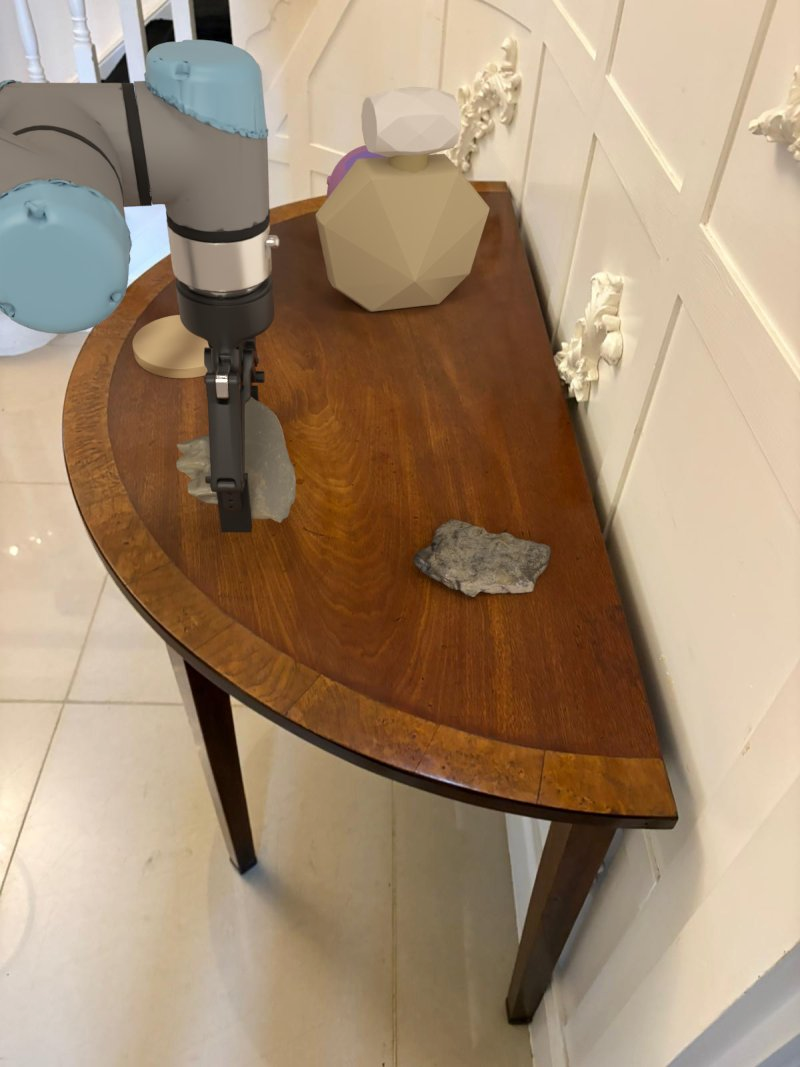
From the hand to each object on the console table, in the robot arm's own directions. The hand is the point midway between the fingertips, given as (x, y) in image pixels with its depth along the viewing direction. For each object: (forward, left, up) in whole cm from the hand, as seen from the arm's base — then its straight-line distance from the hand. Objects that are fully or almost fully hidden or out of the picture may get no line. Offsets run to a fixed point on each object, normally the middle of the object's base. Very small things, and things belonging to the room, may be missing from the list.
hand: (242, 482), depth 76 cm
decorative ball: (+15, +64, -6) cm, 66 cm away
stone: (+23, -6, -6) cm, 25 cm away
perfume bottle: (+18, +47, -6) cm, 51 cm away
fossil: (0, 0, -2) cm, 2 cm away
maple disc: (-10, +32, -6) cm, 34 cm away
